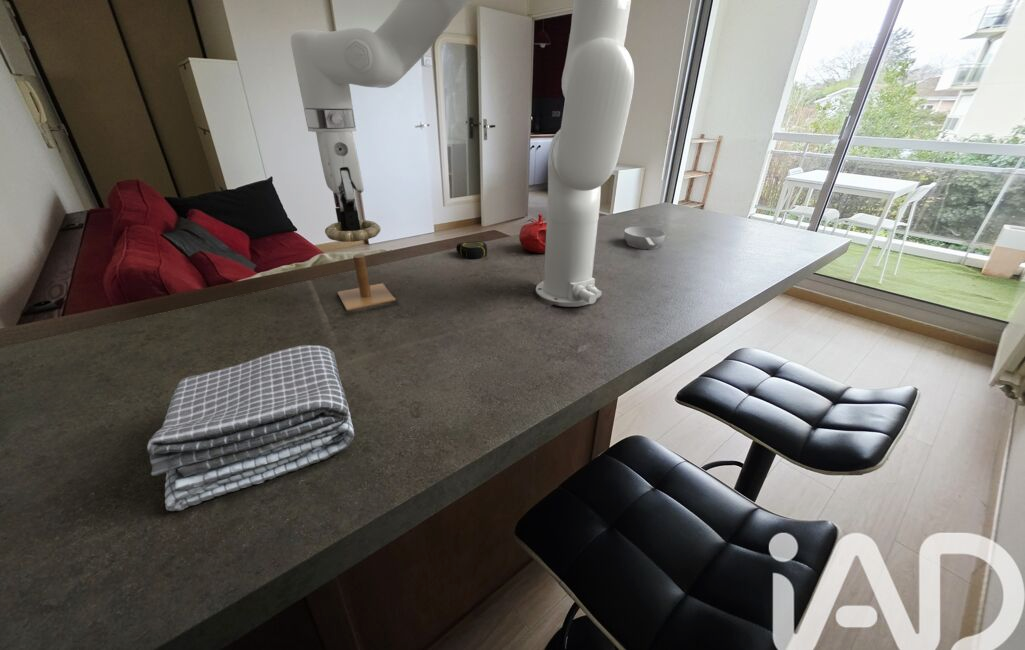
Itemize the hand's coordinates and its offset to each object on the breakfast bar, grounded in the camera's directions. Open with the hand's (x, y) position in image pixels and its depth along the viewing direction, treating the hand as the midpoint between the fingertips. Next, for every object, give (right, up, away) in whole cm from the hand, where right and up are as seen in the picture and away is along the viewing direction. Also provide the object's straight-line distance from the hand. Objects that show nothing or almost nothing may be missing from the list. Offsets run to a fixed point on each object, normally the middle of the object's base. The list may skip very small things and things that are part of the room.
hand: (349, 229), depth 78 cm
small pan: (+66, +3, +34) cm, 75 cm away
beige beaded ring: (+2, -1, -3) cm, 4 cm away
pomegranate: (+37, +2, +32) cm, 49 cm away
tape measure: (+20, -1, +27) cm, 33 cm away
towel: (+2, -31, -29) cm, 43 cm away
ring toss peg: (+2, -13, +4) cm, 14 cm away
